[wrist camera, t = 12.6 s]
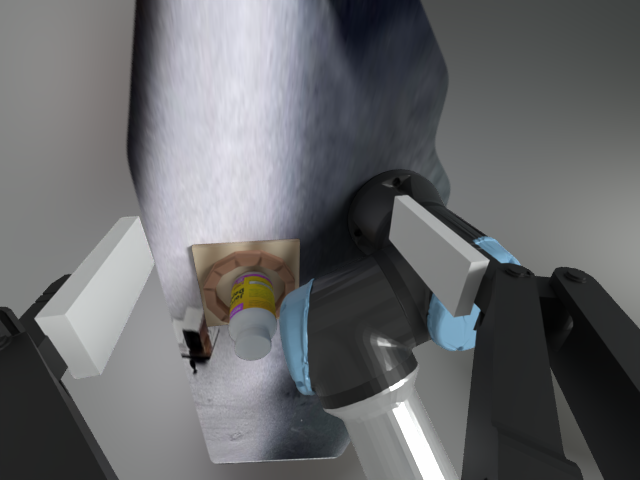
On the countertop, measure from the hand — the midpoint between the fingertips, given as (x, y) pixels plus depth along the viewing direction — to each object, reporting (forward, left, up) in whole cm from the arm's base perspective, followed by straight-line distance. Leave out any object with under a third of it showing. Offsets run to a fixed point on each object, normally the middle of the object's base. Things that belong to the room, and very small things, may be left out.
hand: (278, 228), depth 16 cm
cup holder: (-10, +22, -27) cm, 36 cm away
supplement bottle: (-10, +22, -26) cm, 35 cm away
